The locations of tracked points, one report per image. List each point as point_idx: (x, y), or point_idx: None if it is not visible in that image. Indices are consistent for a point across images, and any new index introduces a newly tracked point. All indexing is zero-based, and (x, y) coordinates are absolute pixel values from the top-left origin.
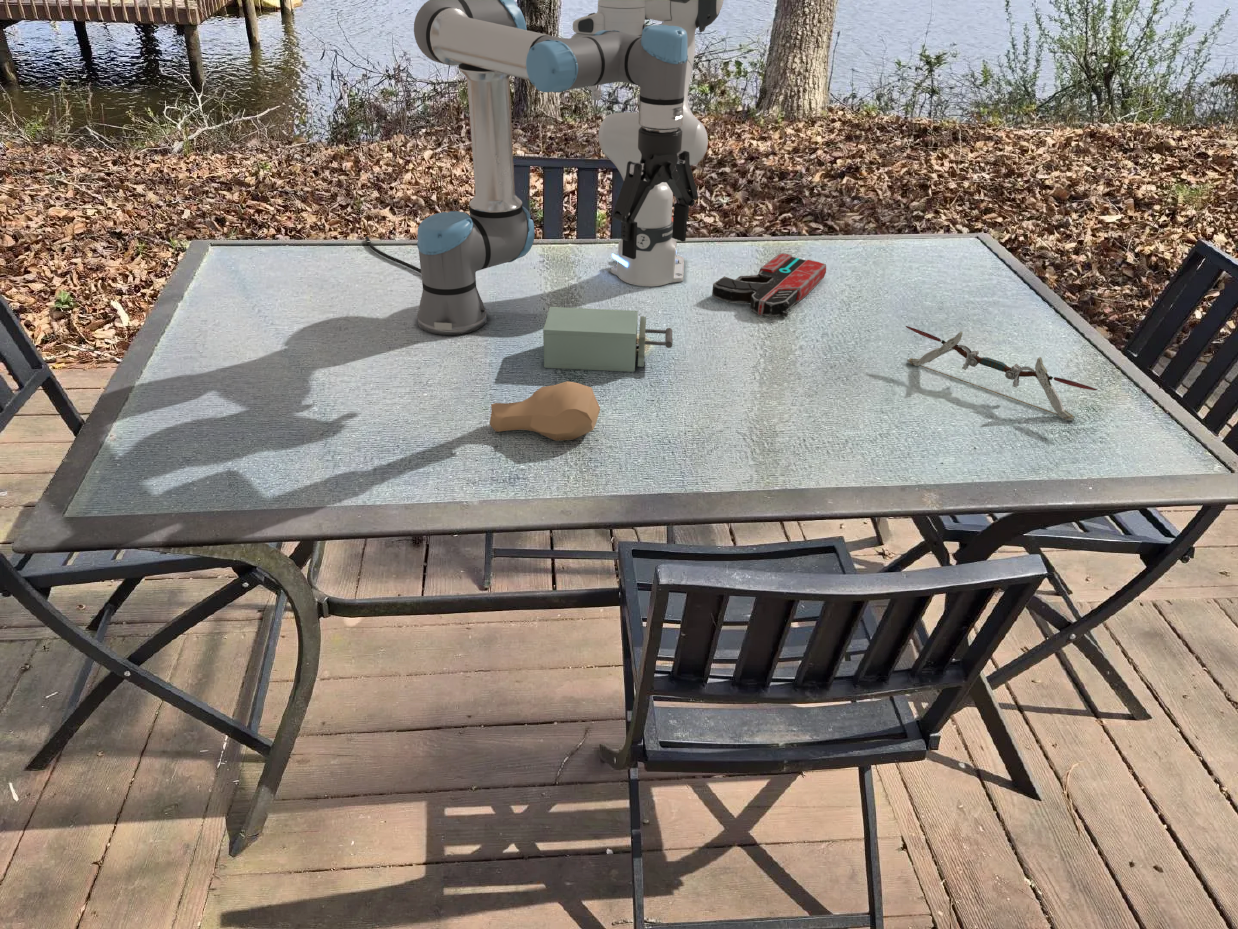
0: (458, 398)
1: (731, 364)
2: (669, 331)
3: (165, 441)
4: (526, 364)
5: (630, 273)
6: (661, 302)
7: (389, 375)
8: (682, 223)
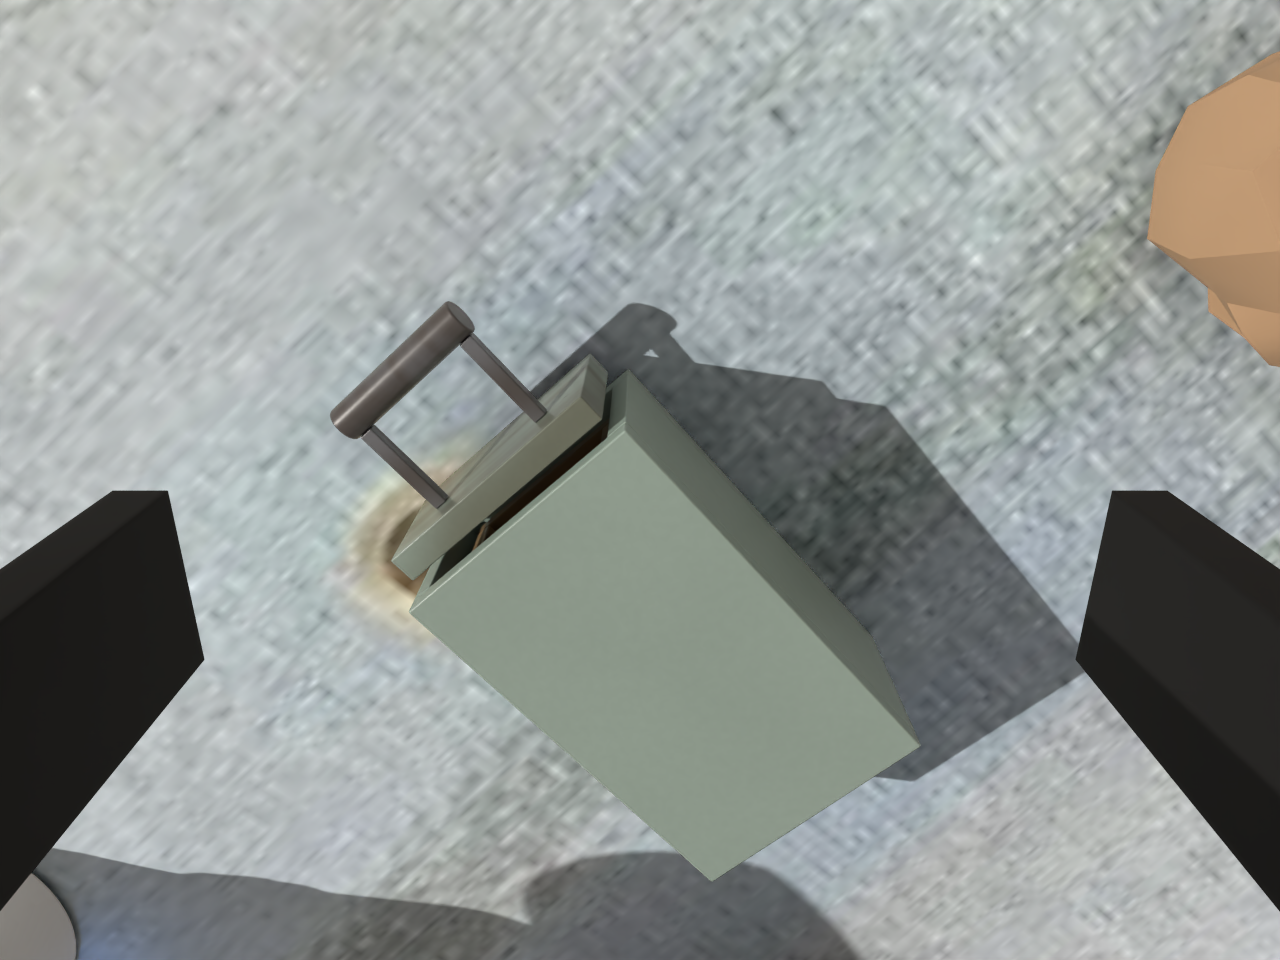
0: None
1: (193, 85)
2: (369, 399)
3: None
4: None
5: (34, 955)
6: None
7: (1262, 910)
8: (13, 653)
